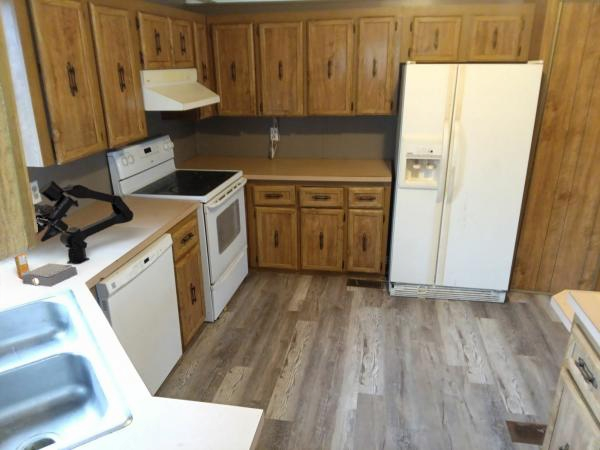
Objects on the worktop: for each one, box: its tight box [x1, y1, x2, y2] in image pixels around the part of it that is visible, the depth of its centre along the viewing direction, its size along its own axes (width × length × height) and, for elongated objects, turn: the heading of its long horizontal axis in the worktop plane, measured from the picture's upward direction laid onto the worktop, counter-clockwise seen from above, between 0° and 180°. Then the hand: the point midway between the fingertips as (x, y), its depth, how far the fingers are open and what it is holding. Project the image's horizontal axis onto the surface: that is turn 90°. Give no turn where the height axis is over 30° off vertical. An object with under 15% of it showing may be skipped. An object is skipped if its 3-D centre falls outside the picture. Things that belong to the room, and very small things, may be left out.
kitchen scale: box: [22, 266, 78, 288], centre depth 172 cm, size 14×13×3 cm
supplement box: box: [13, 252, 30, 280], centre depth 174 cm, size 3×3×10 cm
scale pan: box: [26, 263, 73, 277], centre depth 172 cm, size 11×11×1 cm
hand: (35, 239), depth 176 cm, fingers open, 9 cm apart
